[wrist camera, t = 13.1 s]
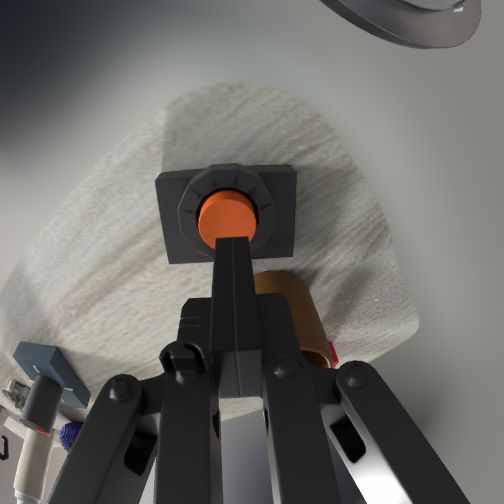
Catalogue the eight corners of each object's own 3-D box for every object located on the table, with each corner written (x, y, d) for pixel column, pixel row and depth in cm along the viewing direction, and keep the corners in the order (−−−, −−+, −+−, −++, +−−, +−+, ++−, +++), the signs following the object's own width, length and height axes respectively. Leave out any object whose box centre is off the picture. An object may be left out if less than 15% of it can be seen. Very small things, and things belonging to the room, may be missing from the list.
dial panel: (17, 341, 29) (9, 356, 26) (59, 346, 30) (52, 364, 27) (52, 387, 35) (47, 401, 33) (93, 394, 36) (89, 410, 33)
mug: (178, 298, 27) (164, 377, 19) (209, 234, 24) (202, 311, 15) (282, 333, 30) (298, 406, 22) (322, 283, 27) (355, 357, 19)
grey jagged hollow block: (7, 375, 34) (0, 390, 31) (37, 391, 37) (31, 408, 33) (15, 396, 39) (10, 410, 35) (42, 411, 41) (38, 425, 37)
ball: (103, 431, 44) (98, 461, 37) (90, 435, 46) (85, 462, 39) (71, 414, 40) (63, 445, 34) (61, 420, 43) (54, 447, 36)
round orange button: (197, 191, 18) (195, 201, 16) (253, 188, 18) (255, 197, 17) (203, 240, 20) (201, 253, 18) (254, 237, 20) (256, 249, 18)
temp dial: (43, 389, 31) (28, 431, 24) (31, 371, 28) (13, 415, 21) (68, 397, 31) (55, 442, 24) (57, 379, 29) (40, 427, 22)
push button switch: (160, 163, 20) (146, 177, 17) (290, 155, 21) (303, 167, 17) (173, 251, 24) (165, 277, 21) (287, 243, 25) (298, 269, 21)
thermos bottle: (33, 425, 47) (15, 505, 23) (28, 415, 43) (6, 503, 19) (58, 436, 49) (42, 519, 25) (54, 428, 46) (36, 518, 22)
